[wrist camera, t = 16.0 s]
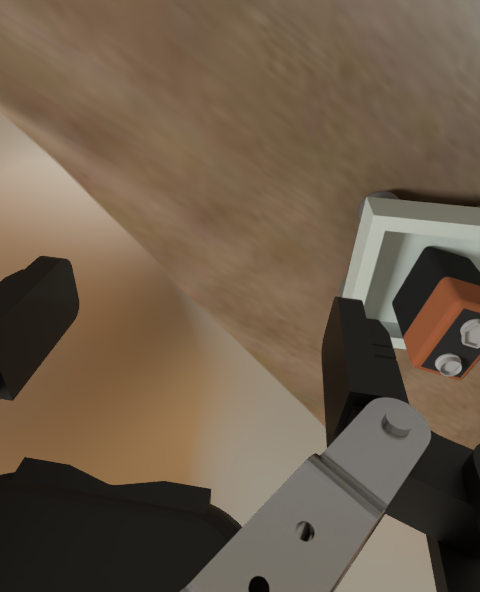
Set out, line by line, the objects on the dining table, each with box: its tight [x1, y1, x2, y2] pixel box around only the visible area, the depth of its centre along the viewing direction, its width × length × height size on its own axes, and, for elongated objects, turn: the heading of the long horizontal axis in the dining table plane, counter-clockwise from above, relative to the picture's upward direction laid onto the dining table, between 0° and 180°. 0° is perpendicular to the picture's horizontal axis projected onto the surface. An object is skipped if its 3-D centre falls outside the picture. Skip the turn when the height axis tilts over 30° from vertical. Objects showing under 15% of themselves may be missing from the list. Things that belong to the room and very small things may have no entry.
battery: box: [392, 246, 480, 380], centre depth 32 cm, size 4×7×10 cm, turn 165°
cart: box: [340, 191, 480, 349], centre depth 37 cm, size 14×13×8 cm
